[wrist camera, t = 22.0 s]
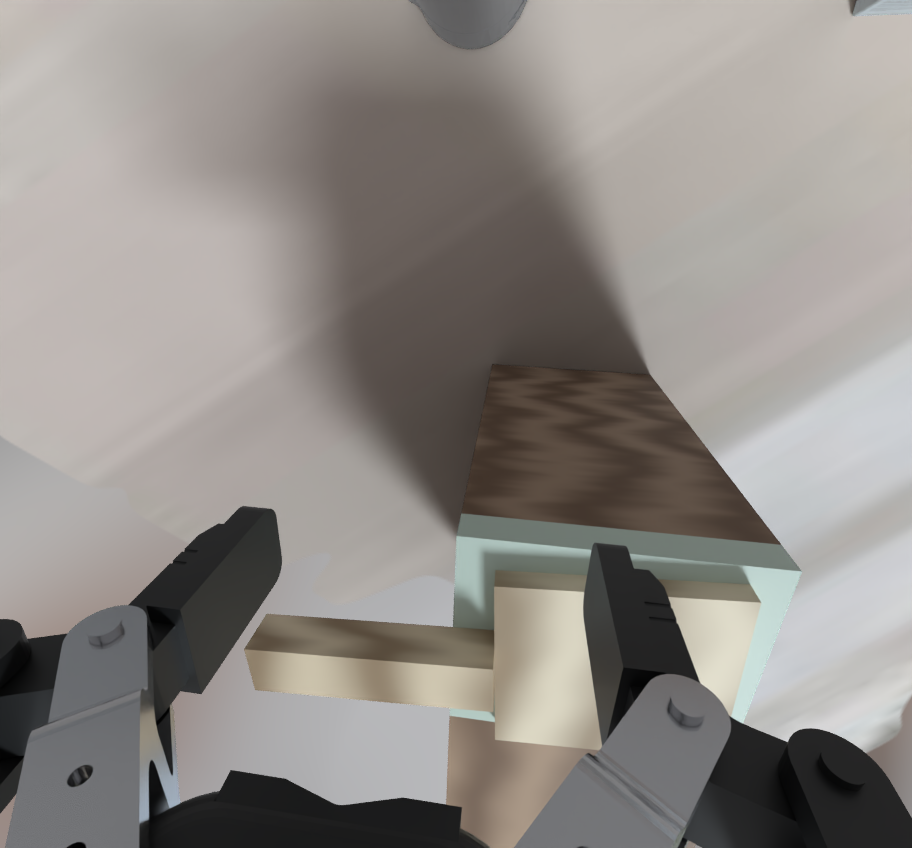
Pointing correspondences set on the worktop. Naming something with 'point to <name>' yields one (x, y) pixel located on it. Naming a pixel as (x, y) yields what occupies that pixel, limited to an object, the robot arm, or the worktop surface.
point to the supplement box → (882, 7)
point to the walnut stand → (590, 545)
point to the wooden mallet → (499, 656)
